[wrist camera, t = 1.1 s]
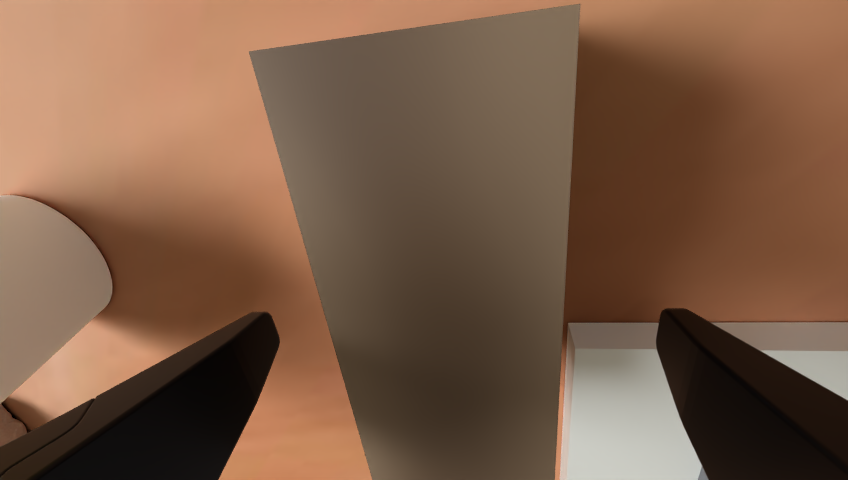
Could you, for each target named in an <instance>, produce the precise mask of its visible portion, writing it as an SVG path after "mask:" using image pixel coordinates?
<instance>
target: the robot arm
mask: <svg viewBox="0 0 848 480" xmlns="http://www.w3.org/2000/svg"><path fill="white" fill-rule="evenodd" d="M279 343H280V339H279V335H278V332H277V329H276V327H275V324H274V321H273V319H272V316H271V315H270V314H269V313H268V312H251V313H249V314H247V315H246V316H244V317H242V318H240V319H238V320H236V321H235V322H233V323H231V324H229V325H227V326H225V327H223V328H222V329H220V330H218V331H216V332H214V333H212V334H211V335H209V336H207V337H205V338H203V339H201V340H200V341H198V342H196V343H194V344H192V345H190V346H188V347H187V348H185V349H183V350H181V351H179V352H177V353H176V354H174V355H172V356H170V357H168V358H166V359H165V360H163V361H161V362H159V363H157V364H155V365H153V366H152V367H150V368H148V369H146V370H144V371H142V372H141V373H139V374H137V375H135V376H133V377H131V378H130V379H128V380H126V381H124V382H122V383H120V384H119V385H117V386H115V387H113V388H111V389H109V390H107V391H106V392H104V393H102V394H100V395H98V396H97V397H96V398H95V399H94V398H93V399H91V400H89V401H87V402H85V403H83V404H82V405H80V406H78V407H76V408H74V409H72V410H70V411H69V412H67V413H65V414H63V415H61V416H59V417H57V418H55V419H53V420H52V421H50V422H48V423H46V424H44V425H42V426H40V427H38V428H36V429H34V430H32V431H30V432H28V433H26V434H24V435H22V436H20V437H18V438H16V439H14V440H12V441H10V442H8V443H7V444H5V445H2V446H0V480H218V479H219V477H220V475H221V473H222V471H223V469H224V467H225V465H226V463H227V461H228V459H229V457H230V455H231V453H232V452H233V450H234V448H235V446H236V444H237V442H238V440H239V438H240V436H241V434H242V432H243V430H244V428H245V426H246V424H247V422H248V420H249V418H250V416H251V414H252V412H253V410H254V408H255V405H256V403H257V401H258V399H259V396H260V394H261V392H262V389H263V386H264V384H265V381H266V379H267V376H268V373H269V371H270V368H271V366H272V363H273V361H274V358H275V355H276V353H277V350H278V348H279ZM656 348H657V352H658V355H659V358H660V361H661V364H662V367H663V370H664V373H665V376H666V379H667V382H668V385H669V388H670V391H671V394H672V397H673V400H674V403H675V406H676V409H677V411H678V414H679V417H680V419H681V422H682V424H683V426H684V429H685V431H686V433H687V435H688V437H689V439H690V442H691V444H692V446H693V448H694V450H695V452H696V454H697V457H698V459H699V461H700V463H701V465H702V467H703V469H704V471H705V474H706V476H707V478H708V480H848V400H846V399H845V398H843V397H841V396H839V395H838V394H836V393H834V392H832V391H831V390H829V389H827V388H825V387H823V386H822V385H820V384H818V383H816V382H815V381H813V380H811V379H809V378H808V377H806V376H804V375H802V374H801V373H799V372H797V371H795V370H793V369H792V368H790V367H788V366H786V365H785V364H783V363H781V362H779V361H778V360H776V359H774V358H772V357H771V356H769V355H767V354H765V353H763V352H762V351H760V350H758V349H756V348H755V347H753V346H751V345H749V344H748V343H746V342H744V341H742V340H740V339H739V338H737V337H735V336H733V335H732V334H730V333H728V332H726V331H725V330H723V329H721V328H719V327H718V326H716V325H714V324H712V323H710V322H709V321H707V320H705V319H703V318H702V317H700V316H698V315H696V314H695V313H693V312H691V311H689V310H687V309H684V308H667V309H664V310H663V311H662V312H661V315H660V320H659V325H658V330H657V336H656Z"/></svg>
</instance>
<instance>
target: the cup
mask: <svg viewBox="0 0 848 480" xmlns="http://www.w3.org/2000/svg"><path fill="white" fill-rule="evenodd" d="M112 288H113V287H112V279H111V275H110V271H109V269H108V266H107V264H106V262H105V259H104V258H103V256H102V254H101V252H100V251H99V250H98V248H97V247H96V245H95V244H94V243H93V241H92V240H91V239H90V238H89V237H88V236H87V235H86V234H85V233H84V232H83V231H82V230H81V229H80V228H79V227H78V226H77V225H76V224H75V223H73V222H72V221H71V220H70V219H68V218H67V217H65V216H64V215H62V214H61V213H59V212H58V211H56V210H54V209H52V208H51V207H49V206H47V205H45V204H43V203H41V202H38V201H35V200H33V199H30V198H26V197H22V196H16V195H2V196H0V404H1V403H2V402H3V401H4V400H5V399H6V398H7V397H8V396H10V395H11V394H12V393H13V392H14V391H15V390H16V389H17V388H18V387H19V386H20V385H22V384H23V383H24V382H25V381H26V380H27V379H28V378H29V377H30V376H31V375H32V374H33V373H35V372H36V371H37V370H38V369H39V368H40V367H41V366H42V365H43V364H44V363H45V362H46V361H48V360H49V359H50V358H51V357H52V356H53V355H54V354H55V353H56V352H57V351H58V350H59V349H61V348H62V347H63V346H64V345H65V344H66V343H67V342H68V341H69V340H70V339H71V338H72V337H74V336H75V335H76V334H77V333H78V332H79V331H80V330H81V329H82V328H83V327H84V326H85V325H87V324H88V323H89V322H90V321H91V320H92V319H93V318H94V317H95V316H96V315H97V314H98V313H100V312H101V311H102V310H103V309H104V308H105V307H106V306H107V305H108V303H109V301H110V299H111V296H112Z"/></svg>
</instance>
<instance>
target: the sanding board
mask: <svg viewBox="0 0 848 480" xmlns="http://www.w3.org/2000/svg"><path fill="white" fill-rule="evenodd" d="M712 324H714V325H716V326H718V327H719V328H721V329H723V330H725V331H726V332H728V333H730V334H732V335H733V336H735V337H737V338H739V339H740V340H742V341H744V342H746V343H748V344H749V345H751V346H753V347H755V348H756V349H758V350H760V351H762V352H763V353H765V354H767V355H769V356H771V357H772V358H774V359H776V360H778V361H779V362H781V363H783V364H785V365H786V366H788V367H790V368H792V369H793V370H795V371H797V372H799V373H801V374H802V375H804V376H806V377H808V378H809V379H811V380H813V381H815V382H816V383H818V384H820V385H822V386H823V387H825V388H827V389H829V390H831V391H832V392H834V393H836V394H838V395H839V396H841V397H843V398H845V399H846V400H848V322H712ZM658 325H659V323H568V333H567V352H566V371H565V390H564V409H563V428H562V447H561V466H560V480H698V477H699V474H700V471H701V468H702V465H701V463H700V461H699V459H698V457H697V454H696V452H695V450H694V448H693V446H692V444H691V442H690V439H689V437H688V435H687V433H686V431H685V429H684V426H683V424H682V422H681V419H680V417H679V414H678V411H677V409H676V406H675V403H674V400H673V397H672V394H671V391H670V388H669V385H668V382H667V379H666V376H665V373H664V370H663V367H662V364H661V361H660V358H659V355H658V352H657V348H656V336H657V330H658Z"/></svg>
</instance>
